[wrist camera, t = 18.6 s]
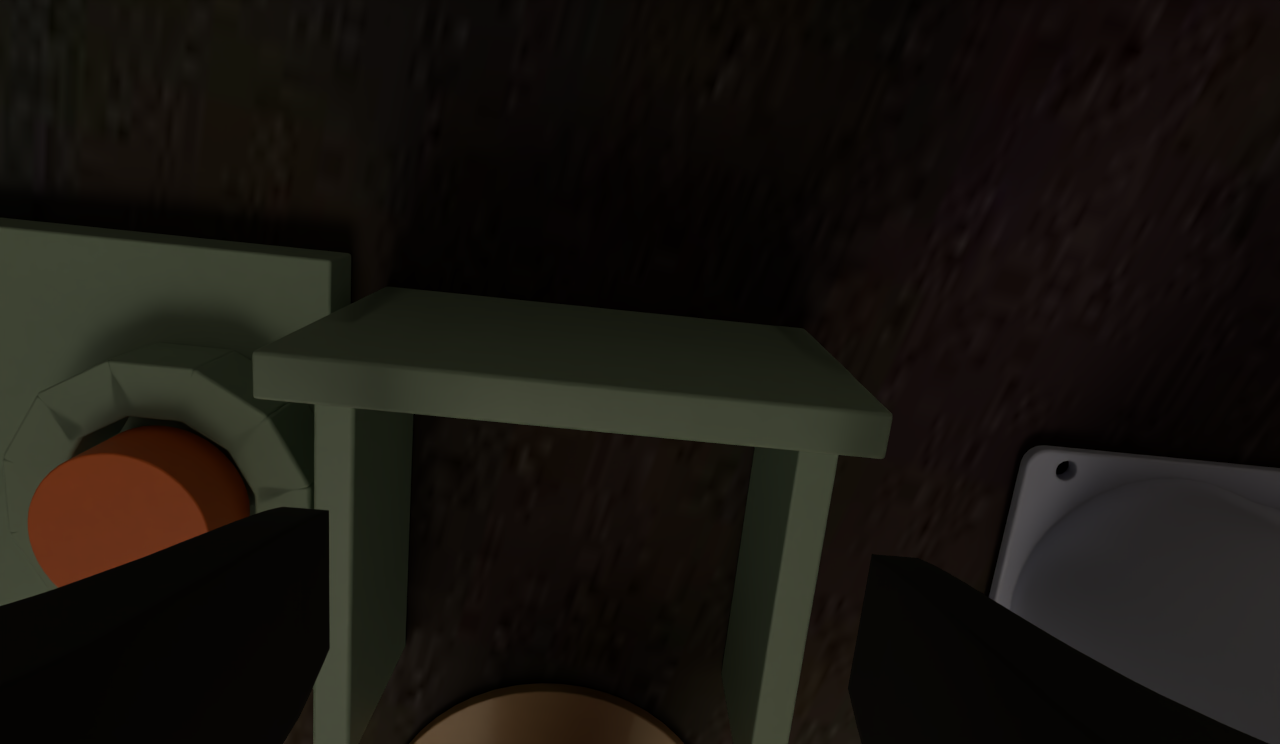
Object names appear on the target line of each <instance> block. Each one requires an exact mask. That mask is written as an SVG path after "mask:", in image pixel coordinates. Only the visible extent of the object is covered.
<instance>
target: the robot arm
mask: <svg viewBox="0 0 1280 744" xmlns="http://www.w3.org/2000/svg"><path fill="white" fill-rule="evenodd" d="M1063 461H1069V466H1068V468H1067V470H1066V471H1065V472H1064V473H1062V474H1058V475H1056V469H1057V467H1058V465H1059V464H1060V463H1062V462H1063ZM329 649H330V603H329V510H318V509H306V508H294V507H278V508H274V509H270V510H266V511H263V512H260V513H257V514H254V515H251V516H248V517H245V518H243V519H240V520H237V521H235V522H232V523H229V524H227V525H224V526H221V527H219V528H216V529H214V530H211V531H209V532H206V533H204V534H201V535H199V536H196V537H193V538H191V539H188V540H186V541H183V542H181V543H178V544H176V545H173V546H171V547H168V548H165V549H163V550H160V551H158V552H155V553H153V554H150V555H148V556H145V557H142V558H140V559H137V560H134V561H131V562H129V563H126V564H123V565H120V566H118V567H115V568H112V569H109V570H106V571H104V572H101V573H98V574H95V575H92V576H90V577H87V578H84V579H81V580H78V581H76V582H73V583H70V584H67V585H65V586H62V587H59V588H56V589H53V590H50V591H47V592H44V593H41V594H38V595H35V596H32V597H28V598H25V599H22V600H19V601H15V602H12V603H9V604H6V605H2V606H0V744H283V743H284V741H285V739H286V738H287V736H288V734H289V733H290V731H291V729H292V728H293V726H294V724H295V723H296V721H297V719H298V718H299V716H300V714H301V712H302V710H303V708H304V705H305V703H306V701H307V699H308V697H309V695H310V693H311V690H312V688H313V686H314V684H315V682H316V679H317V677H318V675H319V672H320V670H321V668H322V665H323V663H324V661H325V658H326V656H327V654H328V651H329ZM848 690H849V694H850V698H851V703H852V707H853V711H854V715H855V720H856V724H857V728H858V732H859V735H860V739H861V743H862V744H1280V468H1274V467H1263V466H1253V465H1243V464H1233V463H1222V462H1212V461H1202V460H1192V459H1181V458H1171V457H1161V456H1151V455H1140V454H1130V453H1120V452H1110V451H1099V450H1089V449H1079V448H1068V447H1058V446H1048V445H1041V446H1035V447H1033V448H1031V449H1029V450H1028V451H1027V452H1026V453H1025V454H1024V455H1023V458H1022V460H1021V462H1020V466H1019V471H1018V475H1017V479H1016V483H1015V488H1014V492H1013V496H1012V500H1011V505H1010V509H1009V513H1008V517H1007V522H1006V526H1005V530H1004V534H1003V539H1002V543H1001V547H1000V551H999V556H998V560H997V564H996V568H995V573H994V577H993V581H992V585H991V590H990V594H989V597H987V596H986V595H984V594H982V593H981V592H979V591H977V590H976V589H974V588H973V587H971V586H969V585H968V584H966V583H964V582H963V581H961V580H959V579H957V578H956V577H954V576H952V575H950V574H949V573H947V572H945V571H943V570H942V569H940V568H938V567H936V566H934V565H932V564H930V563H928V562H925V561H923V560H921V559H918V558H910V557H897V556H885V555H873V554H872V558H871V563H870V569H869V574H868V580H867V585H866V591H865V597H864V602H863V608H862V613H861V619H860V624H859V630H858V636H857V641H856V647H855V652H854V658H853V663H852V669H851V675H850V680H849V686H848Z"/></svg>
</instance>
